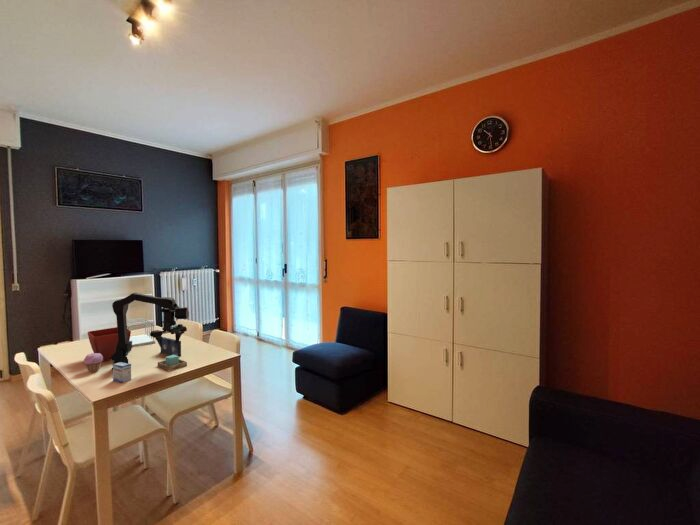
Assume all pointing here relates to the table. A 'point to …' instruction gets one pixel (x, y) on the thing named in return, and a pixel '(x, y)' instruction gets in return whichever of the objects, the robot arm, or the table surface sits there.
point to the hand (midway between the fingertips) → (169, 345)
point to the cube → (172, 360)
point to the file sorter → (141, 338)
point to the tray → (164, 366)
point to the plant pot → (105, 341)
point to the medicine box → (121, 372)
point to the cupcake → (93, 361)
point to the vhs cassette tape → (170, 347)
